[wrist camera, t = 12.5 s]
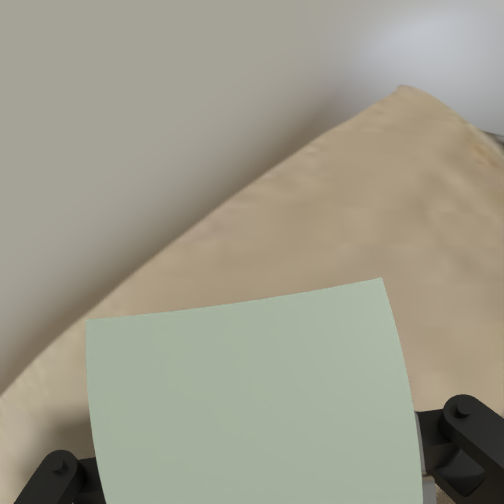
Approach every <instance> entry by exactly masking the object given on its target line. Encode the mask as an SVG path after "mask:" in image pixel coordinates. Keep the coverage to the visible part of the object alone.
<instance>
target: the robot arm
mask: <svg viewBox="0 0 504 504" xmlns="http://www.w3.org/2000/svg"><path fill="white" fill-rule="evenodd" d="M414 414H415V421H416V428H417V435H418V443H419V452H420V463H421V475H422V491H423V504H437V499H436V486H435V483H436V484H437V485H438V486H439V487H440V488H441V489H442V490H443V491H444V492H445V493H446V494H447V495H448V496H449V497H450V498H451V499H452V500H453V501H454V502H455V503H456V504H504V419H503V418H502V417H501V416H499V415H498V414H497V413H495V412H494V411H493V410H491V409H490V408H489V407H487V406H486V405H485V404H483V403H482V402H480V401H479V400H478V399H476V398H475V397H473V396H470V395H465V394H461V395H456V396H454V397H452V398H450V399H449V400H448V401H447V402H446V403H445V406H444V408H443V409H438V410H431V411H424V412H416V411H415V410H414ZM72 502H73V503H74V504H106V500H105V496H104V493H103V488H102V484H101V480H100V475H99V470H98V465H97V460H96V457H94V458H88V459H81V460H77V459H76V457H75V456H74V455H73V454H72V453H70V452H68V451H65V450H57V451H54V452H51V453H50V454H48V455H47V456H46V457H45V458H44V460H43V461H42V463H41V464H40V466H39V467H38V468H37V470H36V471H35V473H34V474H33V476H32V477H31V479H30V480H29V481H28V483H27V484H26V486H25V487H24V489H23V490H22V492H21V493H20V495H19V496H18V498H17V499H16V501H15V502H14V504H72Z"/></svg>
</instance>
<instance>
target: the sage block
mask: <svg viewBox="0 0 504 504" xmlns="http://www.w3.org/2000/svg"><path fill="white" fill-rule="evenodd" d="M86 372H87V389H88V402H89V412H90V421H91V429H92V436H93V442H94V449H95V455H96V460H97V465H98V470H99V475H100V480H101V484H102V488H103V493H104V496H105V500H106V504H423V491H422V475H421V463H420V452H419V443H418V435H417V428H416V421H415V414H414V408H413V402H412V397H411V391H410V386H409V381H408V376H407V371H406V366H405V362H404V357H403V353H402V349H401V345H400V341H399V337H398V333H397V329H396V325H395V321H394V318H393V314H392V310H391V307H390V303H389V300H388V296H387V293H386V290H385V287H384V283H383V280H382V277H381V278H377V279H372V280H367V281H362V282H357V283H352V284H346V285H341V286H336V287H330V288H325V289H319V290H314V291H308V292H302V293H296V294H290V295H284V296H278V297H272V298H266V299H259V300H252V301H246V302H239V303H232V304H225V305H218V306H210V307H202V308H195V309H187V310H178V311H170V312H161V313H152V314H142V315H132V316H122V317H111V318H99V319H86Z"/></svg>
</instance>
